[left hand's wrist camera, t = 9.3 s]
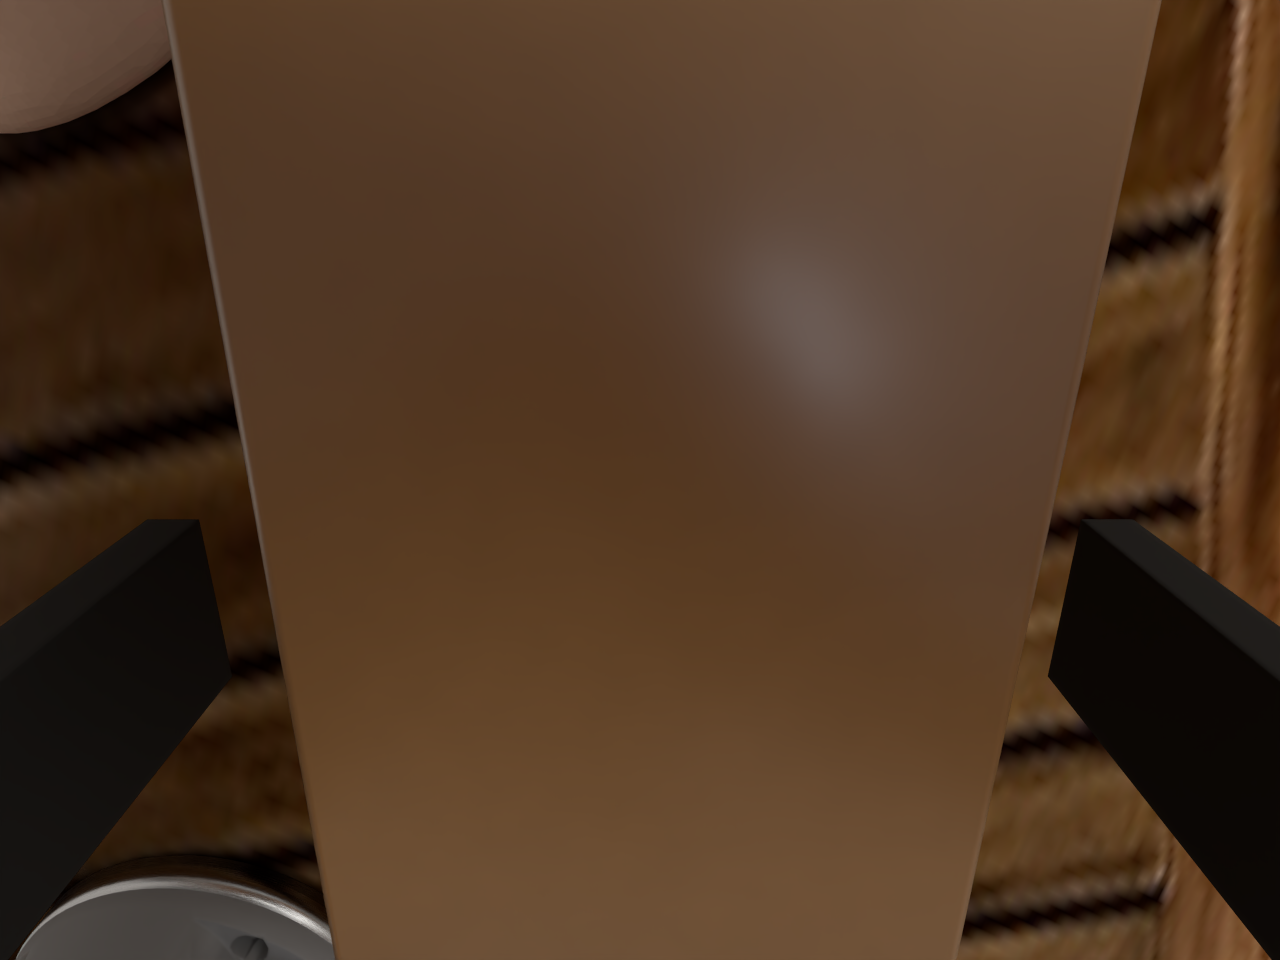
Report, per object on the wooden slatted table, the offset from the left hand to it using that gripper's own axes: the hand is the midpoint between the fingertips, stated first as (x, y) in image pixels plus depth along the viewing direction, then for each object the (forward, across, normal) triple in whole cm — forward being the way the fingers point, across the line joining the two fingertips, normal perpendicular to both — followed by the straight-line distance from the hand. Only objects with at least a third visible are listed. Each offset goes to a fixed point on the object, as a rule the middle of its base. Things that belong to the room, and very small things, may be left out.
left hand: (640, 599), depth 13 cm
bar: (+2, 0, -10) cm, 11 cm away
